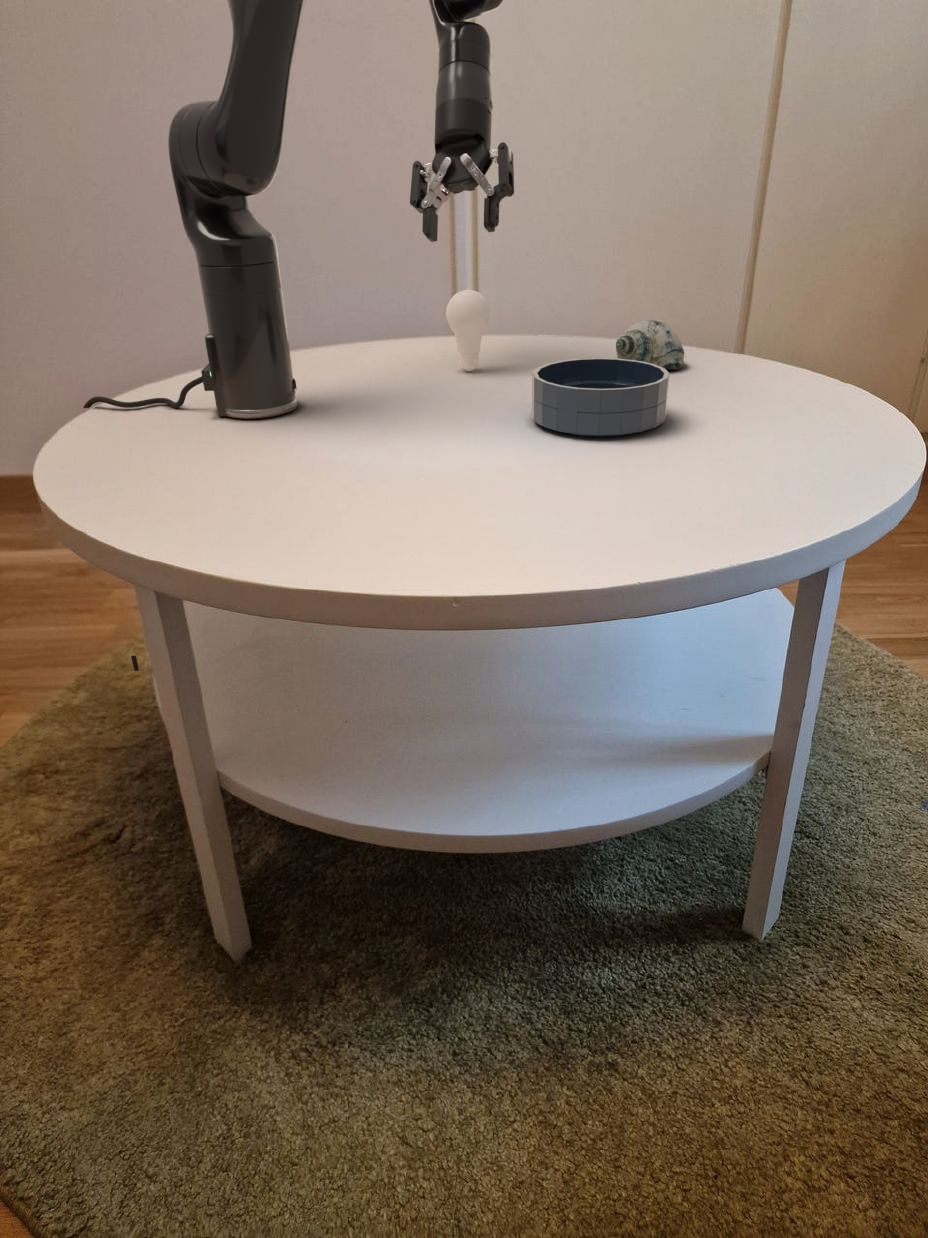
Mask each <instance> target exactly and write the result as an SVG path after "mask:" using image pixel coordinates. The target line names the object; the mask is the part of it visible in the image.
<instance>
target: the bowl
mask: <svg viewBox="0 0 928 1238" xmlns="http://www.w3.org/2000/svg"><path fill="white" fill-rule="evenodd" d="M670 376H671V373H670V372H669V371H668V370H667V368H662V367H660V366H657V365H655V364H651V363H647V362H642V361H636V360H627V359H618V358H612V357H610V358H609V357H589V358H574V359H565V360H564V359H563V360H559V361H554V362H549V363H545V364H543V365H541V366H537V367H536V368H535V369H534V370H533V371H532V373H531V417H532V420H533V422H535V423H536V424H538V425H540V426H541V427H543V428H546V429H550V430H553V431H556V432H559V433H563V434H568V435H572V436H581V437H591V438H595V437H596V438H607V437H608V438H609V437H621V436H628V435H632V434H633V435H634V434H637V433H641V432H645V431H649V430H652V429H655V428H657V427H658V426H660V425H662V424H664V423H665V421H666V417H667V410H668V409H667V408H668V398H669V389H670Z"/></svg>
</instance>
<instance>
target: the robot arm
mask: <svg viewBox="0 0 928 1238" xmlns="http://www.w3.org/2000/svg"><path fill="white" fill-rule="evenodd" d="M306 2H307V0H227V3H228V4H227V5H228V8H229V9H228V10H229V13H230V18H231V25H232V26H231V27H232V43H231V48H230V49H231V50H230V56H229V61H228V65H227V70H226V75H225V78H224V82H223V86H222V89H221V92H220V95H219V96H218V100H217V99H216V100H215V99H214V100H204V101H196V102H195V101H194V102H190V103H188V104H186V105H185V104H184V105H183V106H181V108H179V110H178V111H176V113H175V114H174V116H173V117H172V119H171V122H170V125H169V130H168V138H167V145H168V146H167V148H168V157H169V164H170V165H169V166H170V171H171V176H172V180H173V185H174V189H175V194H176V199H177V203H178V207H179V212H180V215H181V216H180V217H181V222H182V225H183V230H184V233H185V235H186V237H187V239H188V241H189V242H190V244H191V246H192V248H193V251H194V253H195V258H196V263H197V269H198V270H197V271H198V276H199V281H200V287H201V292H202V299H203V305H204V311H205V312H204V313H205V317H206V323H207V329H208V333H207V334H206V335H205V336H204V342H205V348H206V354H207V359H208V360H207V361H208V364H207V365H205V366H204V367H203V368H202V369H201V370H200V372H201V376H199V377H197V378H195V379H193V380H191V381H189V382H188V383H187V384H185V385H184V386H183V388H182V389H181V391H180V394H179V396H178V400H177V401H174V400H172V399H170V398H166V397H155V398H148V399H143V400H138V401H120V400H115V399H112V398H110V397H105V396H93V397H91V398H89V399H88V400H87V401H86V402H85V403H84V405H83V407H82V408H83V409H89V408H91V407H92V406H93V405H95V404H96V403H104V404H108V405H111V406H113V407H119V408H125V409H126V408H127V409H133V408H139V407H147V406H150V405H151V406H152V405H158V404H166V405H167V406H169V407H171V408H173V409H179V408H181V407H182V406H183V405H184V403H185V400H186V397H187V395H188V393H189V392H190V391H191V390H192V389H193V388H194V387H196V386H199V385H201V384H203V390H204V392H213V395H214V400H215V407H216V413H217V417H229V418H233V419H246V420H247V419H264V418H271V417H276V416H281V415H284V414H287V413H290V412H292V411H295V409H297V408H298V400H297V399H298V398H297V395H296V391H297V381H296V379H295V378H294V373H293V363H292V357H291V356H292V355H291V348H290V341H289V333H288V325H287V317H286V316H287V315H286V309H285V301H284V293H283V284H282V277H281V276H282V275H281V269H280V260H279V251H278V244H277V240H276V237H275V235H274V234H273V233H272V232H271V231H269V229H267V228H266V227H264V226H263V225H261V223H260V222H259V221H258V220H257V219H256V217H255V216H254V214H253V212H252V210H251V207H250V202H249V198H248V197H253V196H257V195H260V194H262V193H263V192H265V191H266V190H267V189H268V188H269V187H270V185H272V183H273V181H274V179H275V177H276V175H277V172H278V169H279V167H280V162H281V158H282V152H283V144H284V138H285V137H284V136H285V129H286V128H285V127H286V119H287V111H288V103H289V102H288V101H289V93H290V85H291V78H292V72H293V66H294V61H295V56H296V51H297V46H298V41H299V35H300V31H301V26H302V19H303V14H304V11H305V10H304V9H305V5H306ZM504 2H505V0H428V4H429V7H430V11H431V15H432V19H433V23H434V29H435V33H436V39H437V43H438V72H437V73H438V74H437V84H436V90H435V110H434V111H435V112H434V115H435V116H434V157H433V159H432V161H431V162H427V163H422V162H421V161H420V160H415V161H413V163H412V169H411V183H410V194H409V205H410V206H411V207H412V208H414V209H415V210H416V211H417V212H418V213H419V214H422V229H421V231H422V233H423V234H422V235H424V236H425V237H426V239H427V240H428V241H430V242H431V243H435V242H437V241H438V232H439V229H438V228H439V215H438V212H439V210H440V209H441V207H442V205H443V204H444V203H446V202H447V201H448V200H449V198H450V197H451V195H452V194H453V195H458V194H460V193H462V192H464V191H465V192H466V191H467V192H473V191H476V188H477V187H480V188H481V189H482V191H483V192H484V193H485V195H486V197H484V198H483V227H484V229H485V230H486V231H487V232H488V233H494V232H495V231H496V228H497V227H498V226H499V223H500V203H501V202H502V200H503V199H504V198H506V197H507V198H508V197H509V198H510V197H512V196H514V195H515V172H514V168H515V167H514V153H513V151H512V149H511V148H510V147H509V146H508V144H507V143H506V142H504V141H502V142H500V143H499V144H498V146H497V148H493V149H491V146H492V121H493V119H492V118H493V116H492V115H493V113H492V112H493V106H494V105H493V104H494V103H493V89H492V54H493V53H492V51H493V49H492V47H493V46H492V38H491V35H490V32H489V31H488V30H487V29H486V28H485V27H484V26H483V25H481V24H479V23H478V22H473V21H471V20H474V19H477V18H478V17H481V16H484V15H486V14H489V13H491V12H494V11H495V10H497V9H498V8H500V7H501V6H502V4H503V3H504ZM493 162H494V163H495V164H496V166H497V170H498V171H497V172H498V173H497V174H498V184H496V185H493V184H492V182H490V180H489V179H488V177H487V176H486V174H487V173H488V172H489V169H490V168H491V166H492V165H493ZM433 174H434V175H435V176H434V177H433V179H432V176H433ZM429 183H430V184H429ZM442 186H443V188H442V189H441V187H442ZM130 658H131V662H132V667H133V671H134V672H138V671H140V668H139V663H138V659H137V655H131V656H130Z"/></svg>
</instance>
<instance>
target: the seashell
mask: <svg viewBox="0 0 928 1238" xmlns="http://www.w3.org/2000/svg"><path fill="white" fill-rule="evenodd" d="M615 350H616V355H617V356H616V358H617V359H627V360H636V361H642V362H647V363H651V364H655V365H657V366H660V367H662V368H665V369H670V370H671V369H672V370H675V371H678V370H681V369H682V368H683V366H684V359H685V357H684V356H685V354H686V353H685V351H684V347H683V344H682V340H681V339H680V337H679V336H678V334H677V332H676V331H675V330H674V329H673V328H671V327H670V326H669V325H668V324H666V323H663V322H661V321H658V320H652V319H651V320H649V319H648V320H642V321H638V322H636V323H634V324H632V325H631V326H629V327H628V328H627V329H625V331H624V332H623V333H622V334H621V335H620V336H619V338H618V339H617V340H616V342H615Z"/></svg>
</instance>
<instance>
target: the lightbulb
mask: <svg viewBox="0 0 928 1238" xmlns="http://www.w3.org/2000/svg"><path fill="white" fill-rule="evenodd" d="M445 315H446V320H447V323H448V325H449V327H450V329H451V331H452V333H453V335H454V337H455V339H456V344H457V352H458V353H459V362H460V367H461V368H462V369H464V370H465V371H466V372H473V371H474V369H477V368H478V367H479V353H480V352H481V342H482V338H483V335H484V332H485V331H486V328H487V326H488V324H489V321H490V318H491V308H490V305H489V302H488V300H487V299H486V297H485V296H484V295H483V294H482V293H480V292H478V291H476V290H473V289H463V290H459V291H458V292H456V293H455V294H454V295H452V297H451V298H450V299H449V301H448V303H447V306H446V310H445Z"/></svg>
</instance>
